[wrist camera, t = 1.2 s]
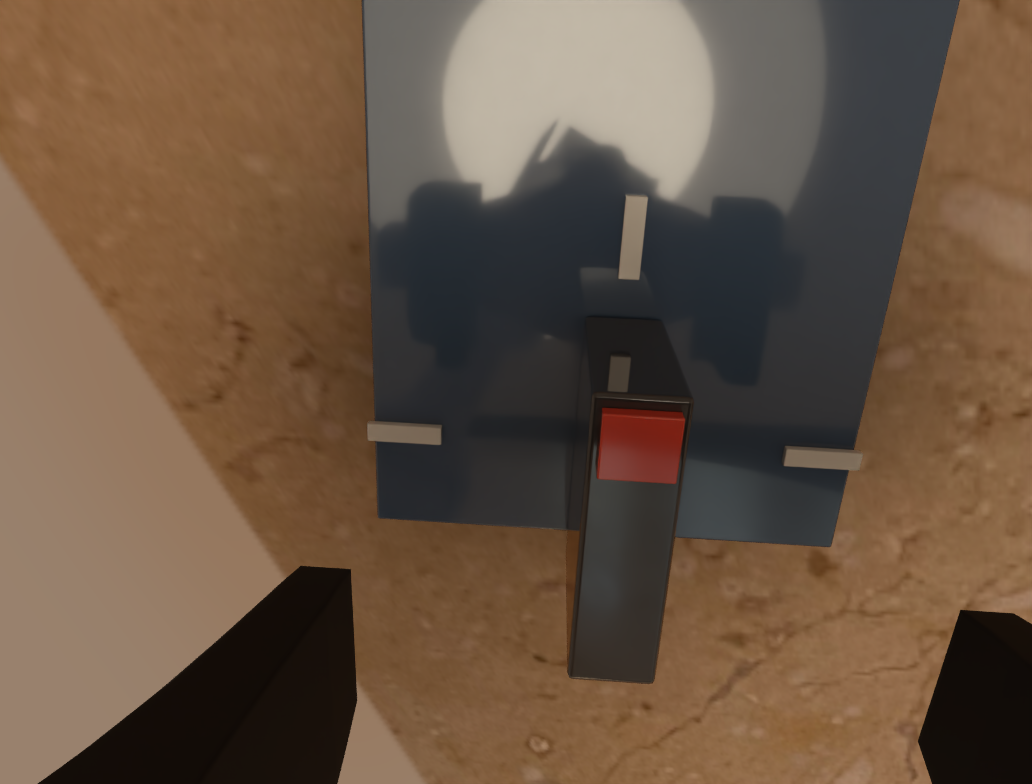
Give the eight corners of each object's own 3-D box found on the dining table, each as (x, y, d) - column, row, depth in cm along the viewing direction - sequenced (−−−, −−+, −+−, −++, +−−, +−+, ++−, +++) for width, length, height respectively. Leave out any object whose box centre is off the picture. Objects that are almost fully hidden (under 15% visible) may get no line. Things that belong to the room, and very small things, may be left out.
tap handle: (635, 558, 16) (656, 698, 12) (565, 554, 16) (567, 691, 12) (664, 319, 14) (699, 406, 10) (584, 315, 14) (592, 399, 10)
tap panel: (775, 567, 19) (813, 658, 16) (401, 543, 20) (374, 628, 17) (950, -285, 13) (1066, -386, 10) (387, -303, 13) (337, -408, 10)
